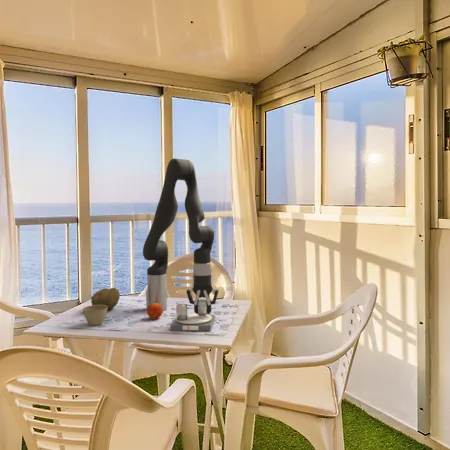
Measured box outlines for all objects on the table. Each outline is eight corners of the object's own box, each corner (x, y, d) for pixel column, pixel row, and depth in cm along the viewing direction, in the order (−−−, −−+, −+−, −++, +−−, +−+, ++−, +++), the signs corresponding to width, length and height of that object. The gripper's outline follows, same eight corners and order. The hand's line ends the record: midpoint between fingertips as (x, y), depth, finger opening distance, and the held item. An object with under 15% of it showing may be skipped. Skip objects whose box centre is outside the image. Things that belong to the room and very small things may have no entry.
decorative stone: (106, 315, 189) (105, 293, 189) (85, 313, 192) (84, 292, 192) (125, 306, 205) (124, 286, 205) (105, 305, 208) (104, 285, 208)
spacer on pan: (175, 320, 167) (175, 306, 167) (177, 317, 172) (177, 303, 172) (186, 320, 167) (186, 306, 167) (188, 317, 171) (188, 303, 171)
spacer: (196, 315, 172) (196, 301, 171) (198, 312, 176) (198, 299, 176) (207, 315, 171) (207, 301, 171) (208, 313, 176) (208, 299, 175)
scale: (170, 330, 164) (170, 323, 164) (178, 319, 180) (178, 312, 180) (210, 331, 162) (210, 324, 162) (215, 319, 179) (215, 313, 179)
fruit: (149, 321, 178) (148, 303, 177) (145, 317, 184) (144, 300, 184) (164, 319, 181) (164, 301, 180) (160, 315, 187) (160, 298, 187)
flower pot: (82, 322, 177) (81, 306, 177) (106, 319, 181) (105, 303, 181) (84, 328, 168) (83, 311, 168) (109, 325, 172) (109, 308, 171)
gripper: (183, 274, 170) (184, 315, 171) (218, 275, 168) (218, 316, 169) (187, 271, 177) (187, 311, 178) (220, 272, 176) (220, 311, 177)
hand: (202, 313), depth 174 cm, fingers closed on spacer, 4 cm apart
